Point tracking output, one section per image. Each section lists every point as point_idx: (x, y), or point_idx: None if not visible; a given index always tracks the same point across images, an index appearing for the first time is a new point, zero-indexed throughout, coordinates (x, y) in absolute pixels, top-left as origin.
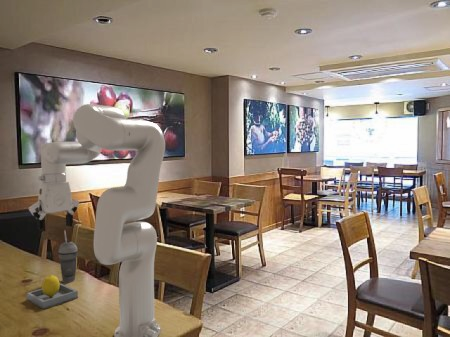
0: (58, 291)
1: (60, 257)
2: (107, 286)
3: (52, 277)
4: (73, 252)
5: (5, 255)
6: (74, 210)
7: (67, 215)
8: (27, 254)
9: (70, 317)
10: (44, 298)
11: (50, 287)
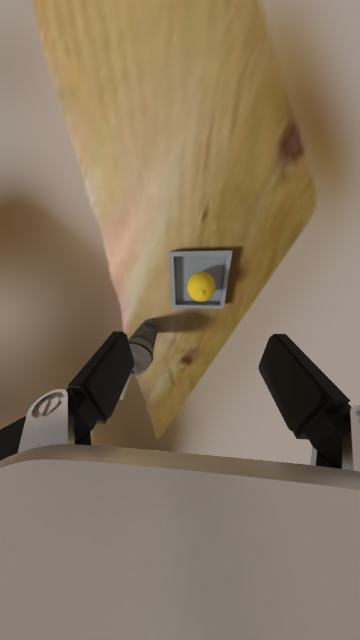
0: (181, 295)
1: (152, 350)
2: (114, 259)
3: (201, 285)
4: (130, 343)
5: (168, 424)
6: (9, 435)
7: (101, 406)
8: (151, 416)
9: (225, 163)
10: None
11: (208, 274)
